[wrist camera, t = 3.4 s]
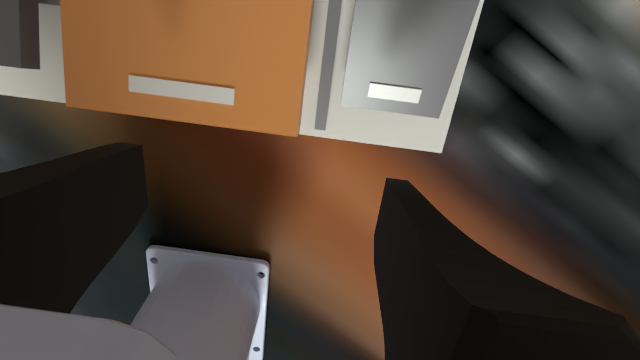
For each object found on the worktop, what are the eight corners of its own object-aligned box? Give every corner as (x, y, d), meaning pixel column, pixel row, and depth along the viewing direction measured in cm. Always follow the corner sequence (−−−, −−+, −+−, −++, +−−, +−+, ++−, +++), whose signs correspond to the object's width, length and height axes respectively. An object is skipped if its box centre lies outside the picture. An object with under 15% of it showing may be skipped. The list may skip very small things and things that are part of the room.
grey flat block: (436, 105, 17) (438, 119, 16) (342, 92, 17) (340, 106, 16) (484, -41, 13) (491, -31, 13) (363, -56, 13) (363, -48, 13)
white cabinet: (430, 130, 22) (446, 164, 18) (23, 76, 22) (-45, 98, 18) (488, -94, 17) (526, -112, 13) (-31, -160, 17) (-137, -196, 13)
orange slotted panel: (299, 132, 17) (296, 137, 16) (81, 103, 17) (64, 106, 16) (324, -93, 14) (323, -104, 13) (71, -125, 14) (50, -139, 13)
